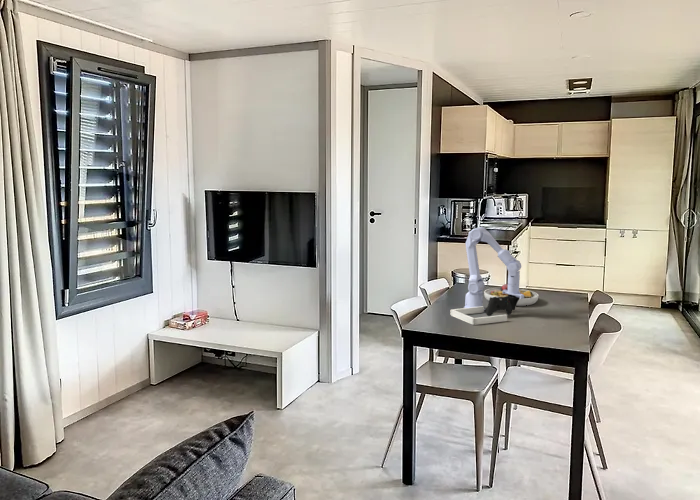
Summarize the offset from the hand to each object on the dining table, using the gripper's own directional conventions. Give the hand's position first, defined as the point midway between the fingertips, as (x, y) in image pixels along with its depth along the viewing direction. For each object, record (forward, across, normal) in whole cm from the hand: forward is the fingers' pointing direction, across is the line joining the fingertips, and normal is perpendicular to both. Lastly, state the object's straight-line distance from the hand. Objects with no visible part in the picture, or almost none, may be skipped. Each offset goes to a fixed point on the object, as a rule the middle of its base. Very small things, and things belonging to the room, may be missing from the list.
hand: (512, 309), depth 288 cm
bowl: (+3, +25, -20) cm, 32 cm away
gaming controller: (+3, 0, +8) cm, 9 cm away
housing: (+2, 0, +21) cm, 22 cm away
